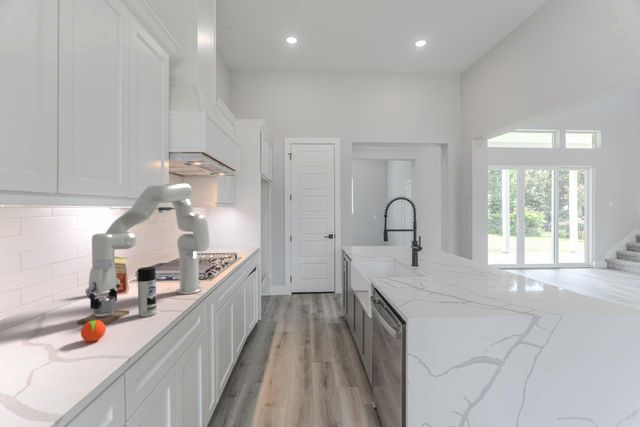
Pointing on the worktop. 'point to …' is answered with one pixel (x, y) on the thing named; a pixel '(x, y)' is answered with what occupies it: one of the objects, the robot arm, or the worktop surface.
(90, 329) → the clementine
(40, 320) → the worktop surface
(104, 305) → the octagonal pot
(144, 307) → the spray can
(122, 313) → the base plate
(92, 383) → the worktop surface
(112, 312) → the grey rounded fixture
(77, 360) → the worktop surface
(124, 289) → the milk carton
